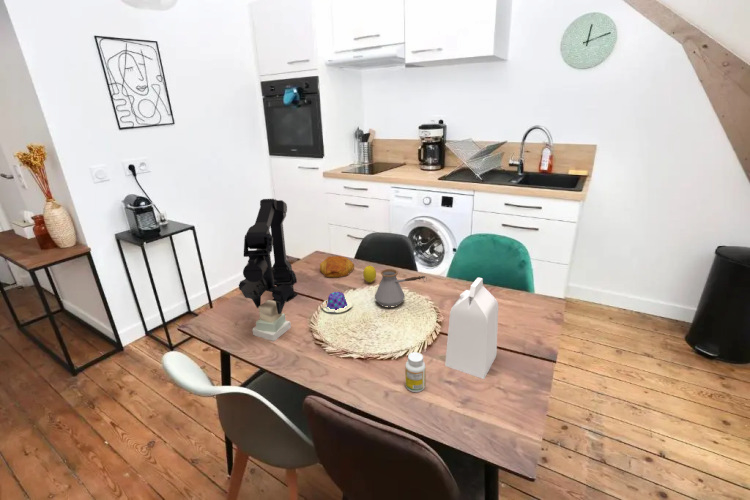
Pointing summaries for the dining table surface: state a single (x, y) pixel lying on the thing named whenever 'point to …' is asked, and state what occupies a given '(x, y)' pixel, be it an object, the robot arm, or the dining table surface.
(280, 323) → the sage green block
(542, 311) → the dining table surface
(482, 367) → the milk
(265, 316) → the birch cube
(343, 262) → the croissant
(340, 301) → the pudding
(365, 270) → the lemon
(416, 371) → the supplement bottle
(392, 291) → the coffee pot
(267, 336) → the base block
